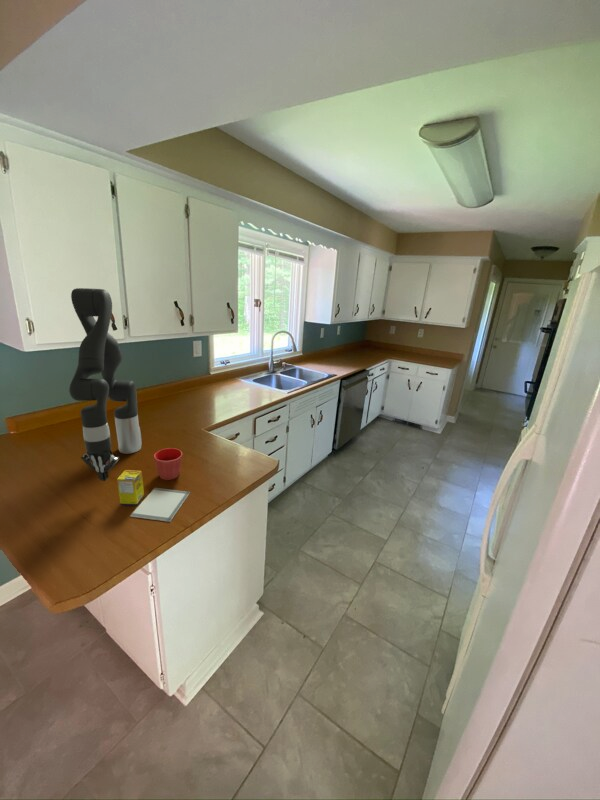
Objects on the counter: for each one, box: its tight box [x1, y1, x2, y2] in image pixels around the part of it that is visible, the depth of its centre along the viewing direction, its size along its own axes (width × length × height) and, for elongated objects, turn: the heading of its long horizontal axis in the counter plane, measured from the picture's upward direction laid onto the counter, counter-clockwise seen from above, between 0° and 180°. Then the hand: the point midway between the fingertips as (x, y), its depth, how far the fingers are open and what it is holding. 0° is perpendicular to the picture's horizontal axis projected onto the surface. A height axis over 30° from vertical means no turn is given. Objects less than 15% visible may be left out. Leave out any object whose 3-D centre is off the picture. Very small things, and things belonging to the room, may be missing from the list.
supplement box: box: [116, 469, 145, 507], centre depth 113 cm, size 6×6×11 cm
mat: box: [130, 487, 191, 523], centre depth 114 cm, size 16×14×1 cm
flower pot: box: [153, 447, 183, 481], centre depth 129 cm, size 11×11×10 cm
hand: (103, 479), depth 112 cm, fingers closed
